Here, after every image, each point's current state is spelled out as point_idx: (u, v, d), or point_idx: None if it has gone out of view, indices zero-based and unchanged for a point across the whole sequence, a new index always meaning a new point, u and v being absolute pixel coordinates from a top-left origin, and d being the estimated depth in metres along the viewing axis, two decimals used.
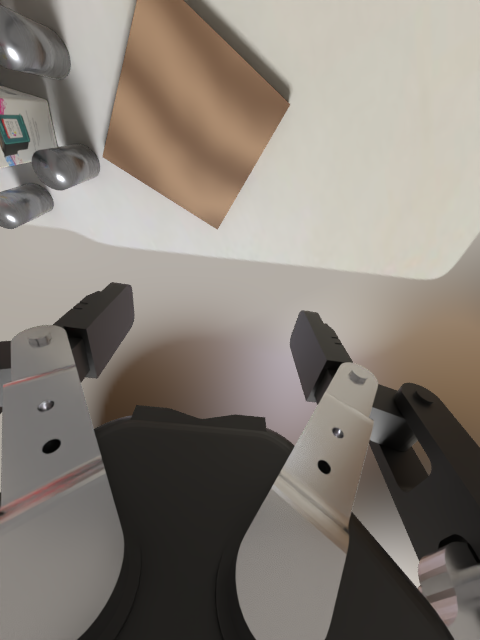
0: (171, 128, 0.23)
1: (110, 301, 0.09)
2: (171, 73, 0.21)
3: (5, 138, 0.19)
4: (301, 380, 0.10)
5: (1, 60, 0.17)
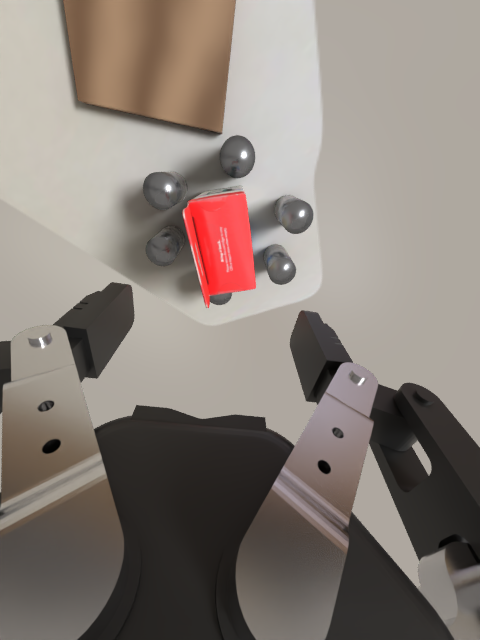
0: (159, 42, 0.21)
1: (110, 301, 0.09)
2: (119, 55, 0.21)
3: (221, 191, 0.22)
4: (301, 380, 0.10)
5: (173, 191, 0.23)
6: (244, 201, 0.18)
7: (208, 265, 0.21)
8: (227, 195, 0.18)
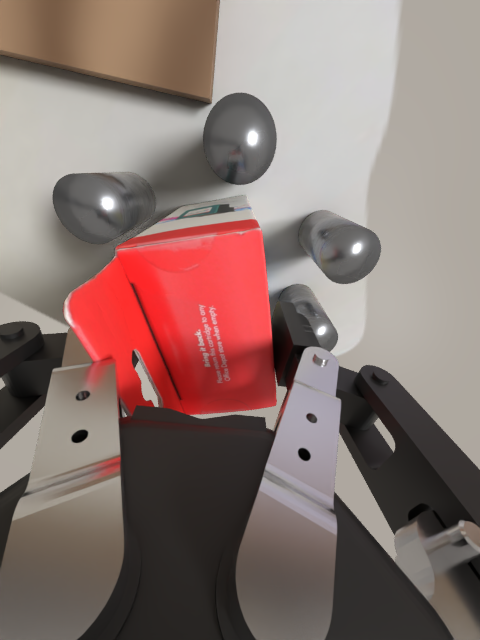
0: None
1: None
2: None
3: (208, 213, 0.11)
4: (275, 366, 0.10)
5: (113, 211, 0.12)
6: (259, 248, 0.07)
7: (178, 372, 0.10)
8: (215, 234, 0.07)
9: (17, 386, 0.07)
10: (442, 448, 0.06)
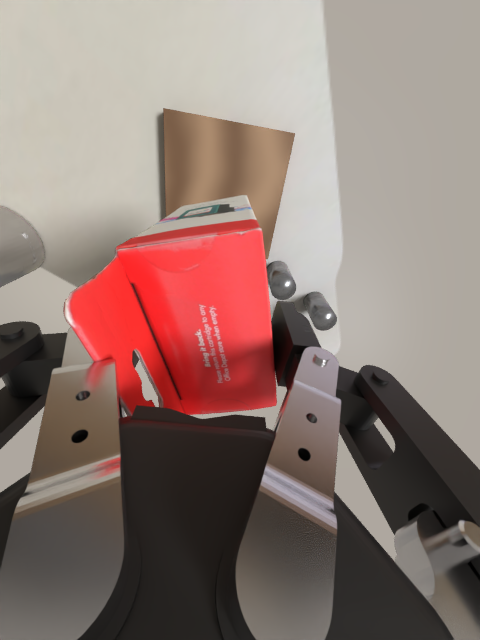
0: None
1: None
2: None
3: (208, 213, 0.11)
4: (275, 366, 0.10)
5: None
6: (259, 248, 0.07)
7: (178, 372, 0.10)
8: (215, 234, 0.07)
9: (17, 386, 0.07)
10: (442, 448, 0.06)
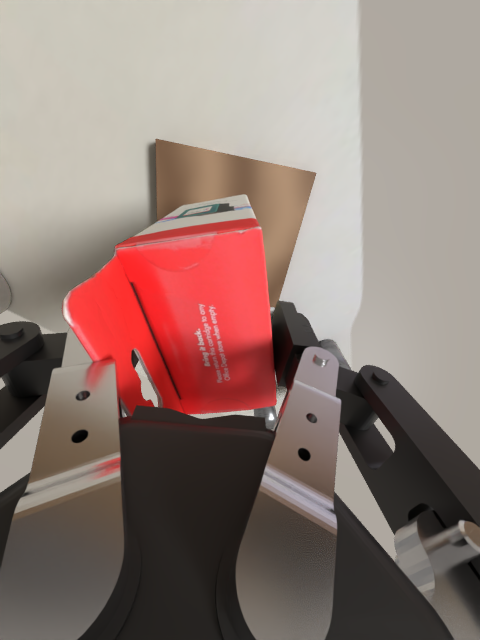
0: None
1: None
2: None
3: (208, 212, 0.11)
4: (275, 366, 0.10)
5: None
6: (259, 247, 0.07)
7: (178, 371, 0.10)
8: (215, 232, 0.07)
9: (17, 386, 0.07)
10: (442, 447, 0.06)
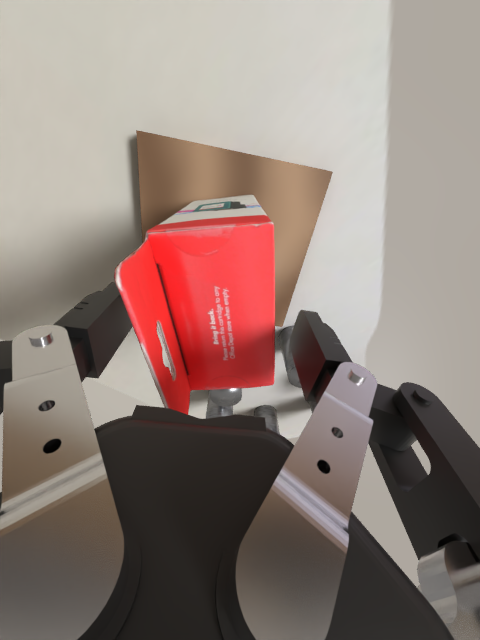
0: None
1: (111, 301, 0.09)
2: None
3: (222, 208, 0.12)
4: (301, 380, 0.10)
5: (238, 396, 0.23)
6: (270, 239, 0.08)
7: (189, 348, 0.11)
8: (234, 225, 0.08)
9: None
10: None
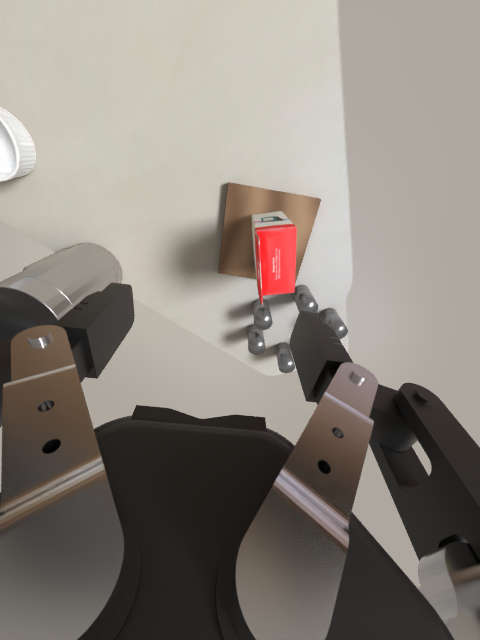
0: None
1: (110, 301, 0.09)
2: (245, 256, 0.40)
3: (273, 220, 0.30)
4: (301, 380, 0.10)
5: (270, 322, 0.41)
6: (295, 232, 0.26)
7: (262, 274, 0.29)
8: (284, 227, 0.26)
9: None
10: None
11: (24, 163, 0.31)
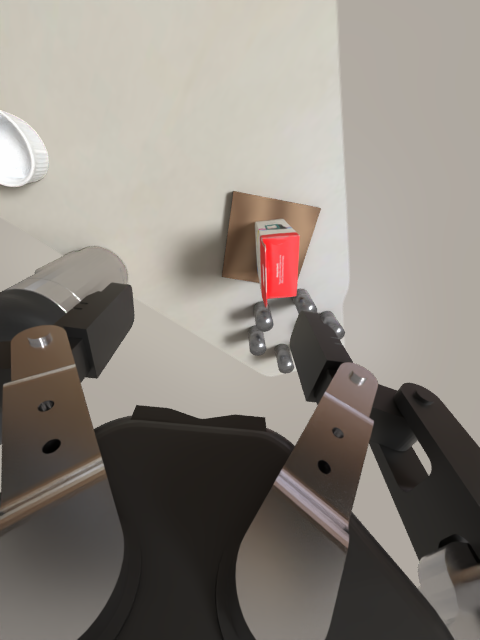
0: None
1: (110, 301, 0.09)
2: (248, 260, 0.42)
3: (277, 228, 0.32)
4: (301, 380, 0.10)
5: (271, 324, 0.43)
6: (298, 240, 0.28)
7: (267, 278, 0.31)
8: (288, 235, 0.28)
9: None
10: None
11: (38, 170, 0.33)
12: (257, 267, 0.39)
